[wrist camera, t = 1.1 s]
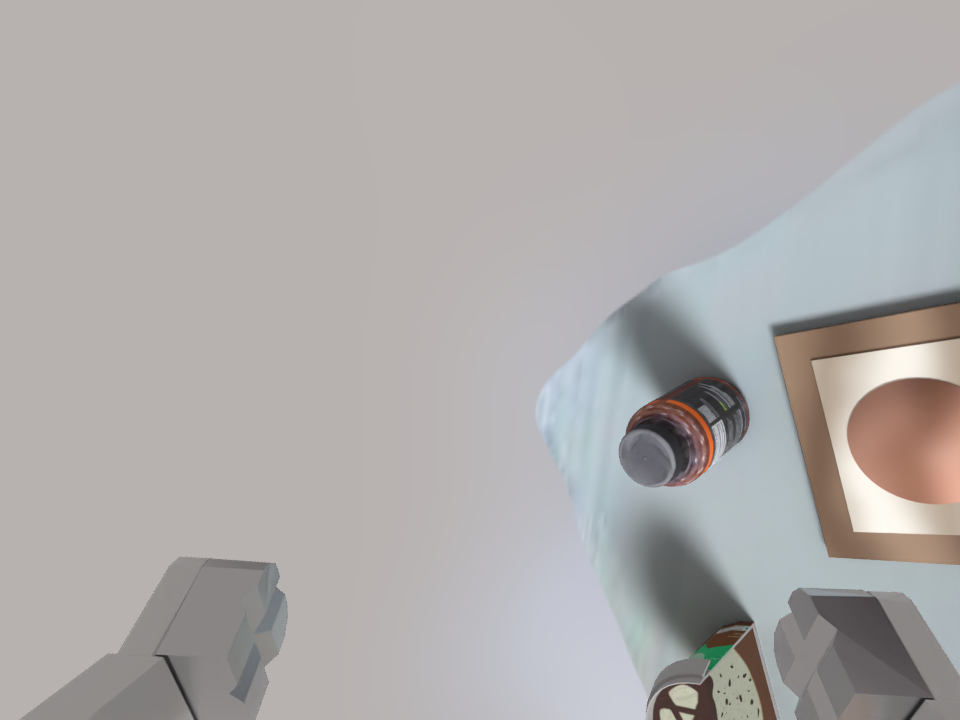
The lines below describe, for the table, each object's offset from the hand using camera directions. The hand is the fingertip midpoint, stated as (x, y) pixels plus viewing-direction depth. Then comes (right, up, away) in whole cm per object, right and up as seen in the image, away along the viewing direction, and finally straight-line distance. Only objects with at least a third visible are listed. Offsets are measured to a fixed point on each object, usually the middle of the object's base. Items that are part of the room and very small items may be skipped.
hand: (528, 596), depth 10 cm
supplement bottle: (+18, 0, +37) cm, 41 cm away
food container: (+20, -22, +41) cm, 51 cm away
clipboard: (+29, -1, +27) cm, 39 cm away
